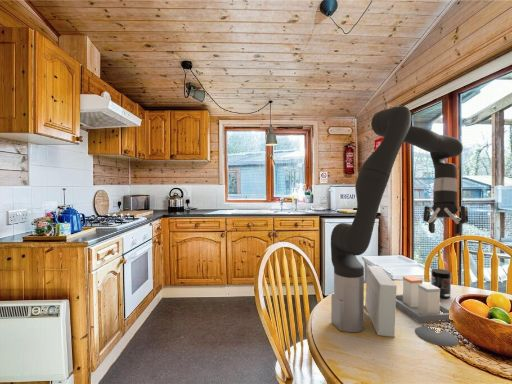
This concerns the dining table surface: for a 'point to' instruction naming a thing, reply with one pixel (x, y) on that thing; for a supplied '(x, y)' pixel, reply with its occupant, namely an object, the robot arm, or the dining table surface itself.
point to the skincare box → (381, 300)
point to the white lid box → (428, 299)
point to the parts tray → (417, 316)
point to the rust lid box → (411, 290)
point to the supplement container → (442, 282)
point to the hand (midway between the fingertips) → (444, 233)
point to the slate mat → (436, 336)
